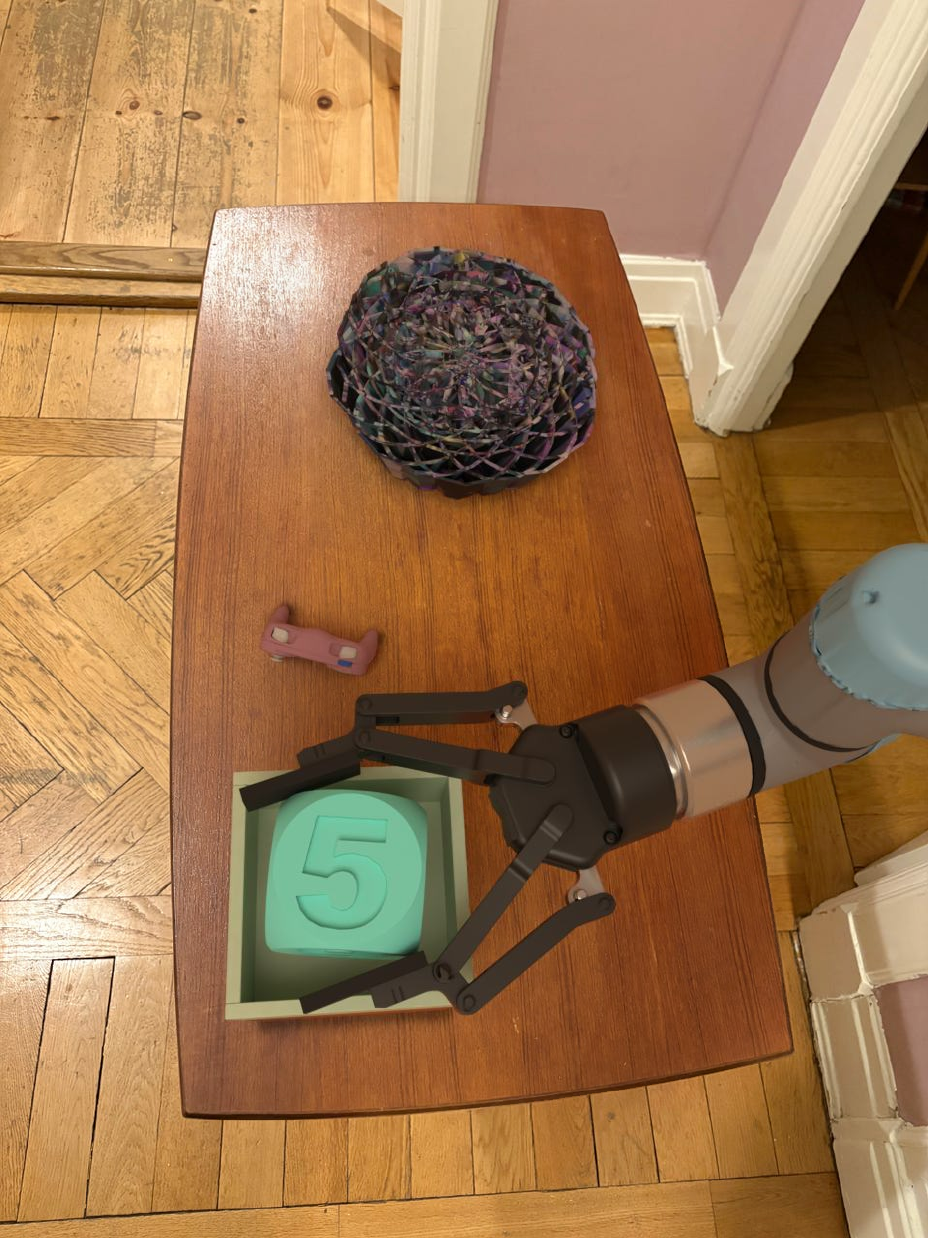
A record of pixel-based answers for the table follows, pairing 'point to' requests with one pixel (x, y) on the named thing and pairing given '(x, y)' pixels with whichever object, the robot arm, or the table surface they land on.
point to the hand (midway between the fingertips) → (271, 900)
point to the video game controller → (317, 645)
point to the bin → (280, 979)
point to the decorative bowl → (464, 371)
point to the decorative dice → (347, 875)
